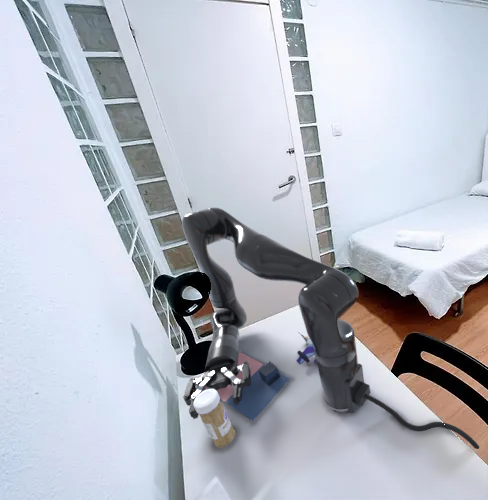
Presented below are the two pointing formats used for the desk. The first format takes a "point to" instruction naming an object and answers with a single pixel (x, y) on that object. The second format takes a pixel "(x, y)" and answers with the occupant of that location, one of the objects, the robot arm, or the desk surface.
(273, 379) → the blue block
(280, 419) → the desk surface
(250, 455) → the desk surface
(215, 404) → the sprinkles bottle
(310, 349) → the toy airplane
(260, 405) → the sorting board
